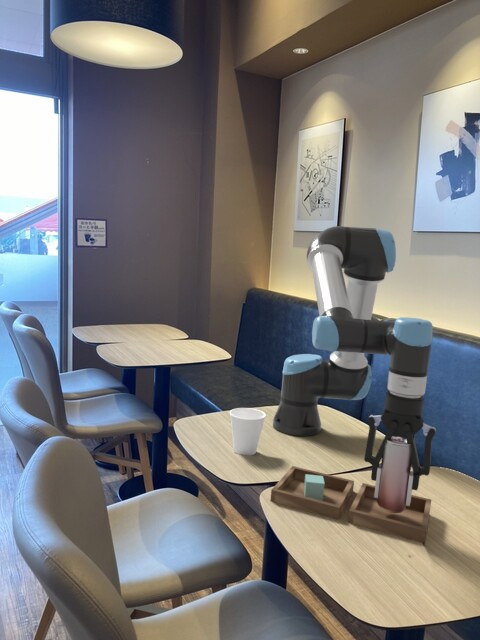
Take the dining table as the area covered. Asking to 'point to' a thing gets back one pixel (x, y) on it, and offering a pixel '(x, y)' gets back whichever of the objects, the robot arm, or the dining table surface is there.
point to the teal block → (314, 487)
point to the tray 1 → (293, 495)
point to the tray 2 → (391, 515)
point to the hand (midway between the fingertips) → (392, 498)
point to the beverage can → (394, 475)
